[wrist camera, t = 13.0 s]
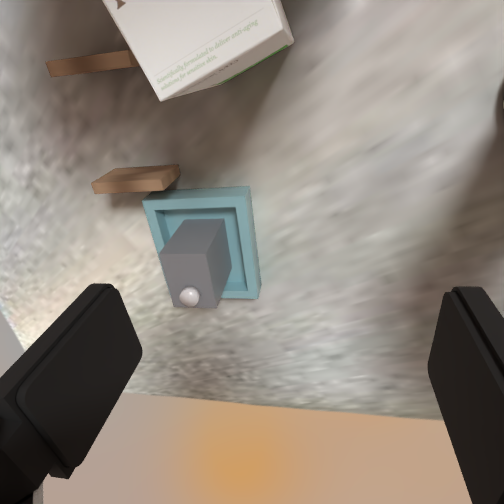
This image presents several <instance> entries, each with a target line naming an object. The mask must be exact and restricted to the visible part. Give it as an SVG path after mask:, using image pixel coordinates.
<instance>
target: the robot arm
mask: <svg viewBox="0 0 504 504" xmlns="http://www.w3.org/2000/svg"><path fill="white" fill-rule="evenodd" d="M503 107H504V102H503ZM141 357H142V347H141V344H140V342H139V339H138V337H137V334H136V332H135V330H134V327H133V325H132V322H131V320H130V317H129V315H128V312H127V310H126V307H125V305H124V303H123V300H122V298H121V295H120V293H119V291H118V290H117V289H115V288H114V286H113V285H112V284H95V283H94V284H91V285H89V286H88V287H87V288H86V289H85V290H84V291H83V292H82V293H81V294H80V295H79V296H78V297H77V299H76V300H75V301H74V302H73V303H72V304H71V305H70V306H69V307H68V308H67V309H66V310H65V311H64V312H63V313H62V314H61V315H60V316H59V317H58V318H57V319H56V320H55V321H54V322H53V324H52V325H51V326H50V327H49V328H48V329H47V330H46V331H45V332H44V333H43V334H42V335H41V336H40V337H39V338H38V339H37V340H36V341H35V342H34V343H33V344H32V345H31V346H30V347H29V348H28V350H27V351H26V352H25V353H24V354H23V355H22V356H21V357H20V358H19V359H18V360H17V361H16V362H15V363H14V364H13V365H12V366H11V367H10V368H9V369H8V370H7V371H6V372H5V374H4V375H3V376H2V377H1V378H0V504H43V480H44V479H45V477H46V476H47V474H48V473H49V474H50V475H51V477H58V478H65V479H69V478H70V476H71V474H72V472H73V471H74V469H75V467H77V466H79V465H80V464H81V463H82V462H83V460H84V458H85V457H86V455H87V453H88V452H89V450H90V448H91V446H92V445H93V443H94V441H95V439H96V437H97V436H98V434H99V432H100V430H101V429H102V427H103V425H104V423H105V422H106V420H107V418H108V416H109V415H110V413H111V410H112V409H113V407H114V406H115V404H116V402H117V400H118V399H119V397H120V395H121V393H122V392H123V390H124V388H125V386H126V385H127V383H128V381H129V379H130V378H131V376H132V374H133V372H134V370H135V369H136V367H137V365H138V363H139V362H140V360H141ZM428 374H429V378H430V381H431V384H432V387H433V389H434V392H435V395H436V398H437V401H438V404H439V407H440V410H441V413H442V416H443V419H444V422H445V425H446V427H447V431H448V434H449V436H450V439H451V442H452V445H453V448H454V451H455V454H456V457H457V460H458V463H459V466H460V469H461V472H462V474H463V477H464V480H465V483H466V486H467V489H468V492H469V495H470V498H471V501H472V504H504V318H503V317H502V315H501V314H500V312H499V311H498V310H497V308H496V307H495V305H494V304H493V302H492V301H491V299H490V298H489V296H488V295H487V294H486V292H485V291H484V290H483V288H481V287H454V288H453V289H452V291H451V292H446V293H445V294H444V296H443V300H442V305H441V309H440V313H439V318H438V322H437V326H436V330H435V335H434V339H433V343H432V348H431V352H430V356H429V361H428Z"/></svg>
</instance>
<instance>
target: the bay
mask: <svg viewBox="0 0 504 504" xmlns="http://www.w3.org/2000/svg"><path fill="white" fill-rule="evenodd" d="M46 65H47V68H48V70H49V73H50V76H51V77H56V76H65V75H74V74H84V73H91V72H99V71H107V70H114V69H122V68H129V67H137V66H140V65H139V63H138V61H137V59H136V58H135V56H134V54H133V52H132V51H131V50H124V51H117V52H110V53H103V54H96V55H89V56H82V57H75V58H68V59H61V60H54V61H47V62H46ZM179 176H180V171H179V166H178V165H163V166H148V167H133V168H118V169H114V170H112V171H110V172H109V173H107V174H105V175H104V176H102V177H100V178H99V179H97V180H95V181H94V182H92V183H91V185H92V187H93V190H94V193H95V194H103V193H123V192H143V191H162V190H165V189H166V188H167V187H168V186H169V185H170V184H171V183H172V182H173V181H174V180H175V179H176V178H177V177H179Z"/></svg>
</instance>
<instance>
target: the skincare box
mask: <svg viewBox="0 0 504 504" xmlns="http://www.w3.org/2000/svg"><path fill="white" fill-rule="evenodd" d="M102 1H103V2H104V4H105V6H106V8H107V9H108V11H109V13H110V15H111V16H112V18H113V20H114V22H115V23H116V25H117V27H118V28H119V30H120V32H121V34H122V35H123V37H124V39H125V40H126V42H127V44H128V46H129V47H130V49H131V51H132V52H133V54H134V56H135V58H136V59H137V61H138V63H139V65H140V66H141V68H142V70H143V71H144V73H145V75H146V77H147V78H148V80H149V82H150V84H151V86H152V87H153V89H154V91H155V93H156V95H157V96H158V98H159V100H160V101H161V102H162V101H164V100H168V99H171V98H174V97H178V96H182V95H185V94H189V93H193V92H196V91H200V90H203V89H207V88H211V87H214V86H218V85H221V84H223V83H225V82H227V81H229V80H230V79H232V78H234V77H236V76H237V75H239V74H241V73H243V72H244V71H246V70H248V69H250V68H251V67H253V66H255V65H257V64H258V63H260V62H262V61H263V60H265V59H267V58H269V57H270V56H272V55H274V54H276V53H277V52H279V51H281V50H283V49H284V48H286V47H288V46H290V45H292V44H293V43H294V39H293V36H292V33H291V30H290V27H289V24H288V21H287V18H286V15H285V12H284V9H283V6H282V3H281V1H280V0H102Z"/></svg>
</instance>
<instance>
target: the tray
mask: <svg viewBox="0 0 504 504" xmlns="http://www.w3.org/2000/svg"><path fill="white" fill-rule="evenodd" d="M142 203H143V207H144V210H145V213H146V216H147V220H148V223H149V226H150V230H151V233H152V236H153V240H154V243H155V246H156V250H157V253H158V256H159V253H160V251H161V250H162V249H163V247H164V246H165V245H166V243H167V242H168V241H169V239H170V238H171V237H172V235H173V234H174V233H175V231H176V230H177V229H178V227H179V226H180V225H181V224H182V222H183V221H184V220H185V219H220V218H224V220H225V226H226V232H227V238H228V245H229V251H230V257H231V263H232V269H231V272H230V274H229V277H228V280H227V282H226V285H225V288H224V290H223V293H222V296H221V298H245V299H258V297H259V293H260V288H261V278H260V269H259V261H258V252H257V244H256V235H255V227H254V218H253V210H252V201H251V193H250V186H243V187H223V188H204V189H184V190H164V191H152V192H151V193H150V194H149V195H148V196H147V197H145V198H144V199H143V200H142ZM159 260H160V257H159ZM160 263H161V261H160ZM161 266H162V264H161ZM162 270H163V268H162ZM163 273H164V271H163ZM164 276H165V274H164ZM165 280H166V278H165ZM166 283H167V281H166ZM167 286H168V285H167ZM168 289H169V288H168ZM169 293H170V292H169ZM170 296H171V295H170Z"/></svg>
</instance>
